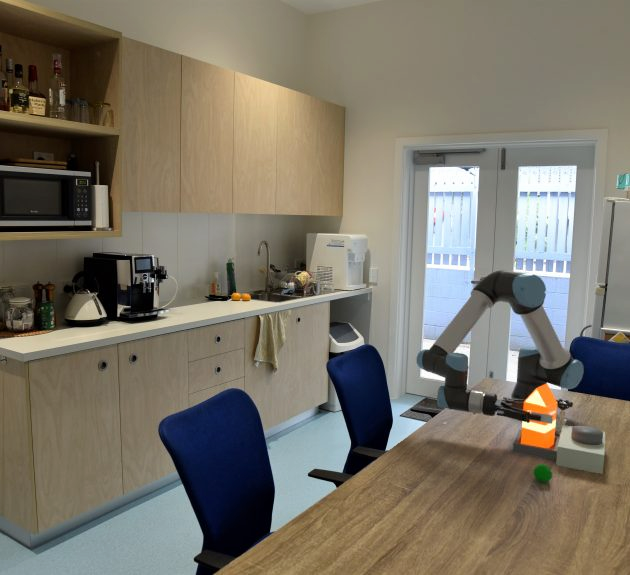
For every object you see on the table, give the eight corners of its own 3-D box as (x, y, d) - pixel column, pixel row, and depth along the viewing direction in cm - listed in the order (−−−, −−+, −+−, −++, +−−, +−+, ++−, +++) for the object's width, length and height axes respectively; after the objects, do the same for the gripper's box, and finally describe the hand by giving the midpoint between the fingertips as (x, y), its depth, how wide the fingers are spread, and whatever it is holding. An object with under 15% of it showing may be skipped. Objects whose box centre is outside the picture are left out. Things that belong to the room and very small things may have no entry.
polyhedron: (537, 475, 176) (539, 460, 176) (554, 481, 173) (555, 465, 172) (530, 480, 173) (531, 464, 172) (546, 486, 169) (547, 470, 169)
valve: (567, 432, 213) (569, 399, 212) (573, 439, 207) (576, 405, 205) (548, 431, 214) (550, 398, 212) (553, 437, 207) (556, 404, 206)
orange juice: (554, 444, 197) (559, 385, 195) (543, 451, 191) (548, 390, 188) (531, 438, 203) (535, 380, 200) (519, 444, 196) (524, 385, 194)
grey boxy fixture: (520, 434, 210) (521, 409, 209) (603, 449, 198) (605, 423, 197) (510, 456, 190) (512, 429, 189) (602, 474, 179) (605, 445, 177)
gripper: (488, 404, 214) (555, 415, 204) (476, 423, 194) (549, 436, 184) (490, 384, 213) (557, 394, 203) (477, 401, 193) (551, 413, 183)
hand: (553, 414), depth 193 cm, fingers closed on orange juice, 10 cm apart
